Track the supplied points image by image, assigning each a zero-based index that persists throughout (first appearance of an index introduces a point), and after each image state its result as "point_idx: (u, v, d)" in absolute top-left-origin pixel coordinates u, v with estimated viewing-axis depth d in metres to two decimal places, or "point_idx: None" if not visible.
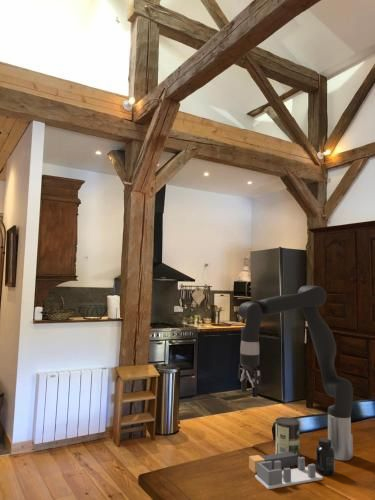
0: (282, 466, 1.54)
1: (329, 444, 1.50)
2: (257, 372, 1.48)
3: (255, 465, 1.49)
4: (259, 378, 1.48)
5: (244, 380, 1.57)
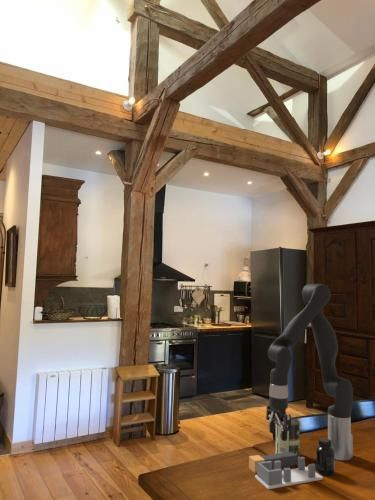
0: (282, 466, 1.54)
1: (329, 444, 1.50)
2: (287, 416, 1.51)
3: (255, 465, 1.49)
4: (289, 422, 1.51)
5: (272, 421, 1.61)
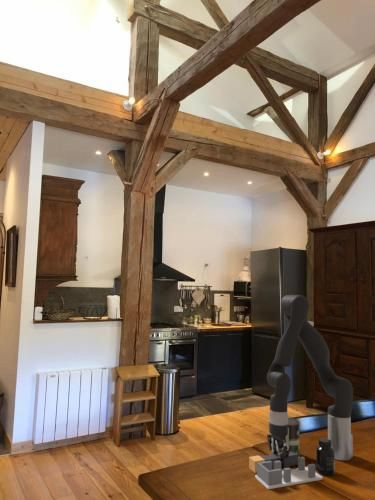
0: None
1: (329, 444, 1.50)
2: (287, 448, 1.50)
3: (255, 466, 1.49)
4: (287, 452, 1.51)
5: (275, 452, 1.57)
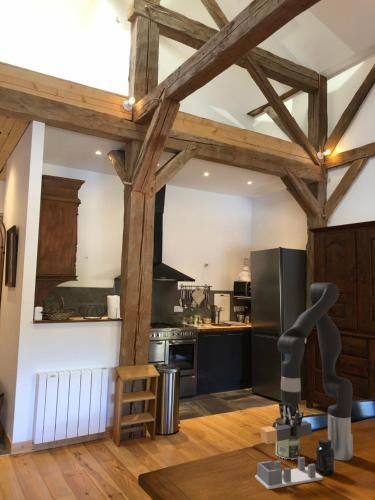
0: (296, 436, 1.48)
1: (329, 444, 1.50)
2: (299, 415, 1.43)
3: (267, 436, 1.43)
4: (300, 420, 1.44)
5: (287, 421, 1.51)
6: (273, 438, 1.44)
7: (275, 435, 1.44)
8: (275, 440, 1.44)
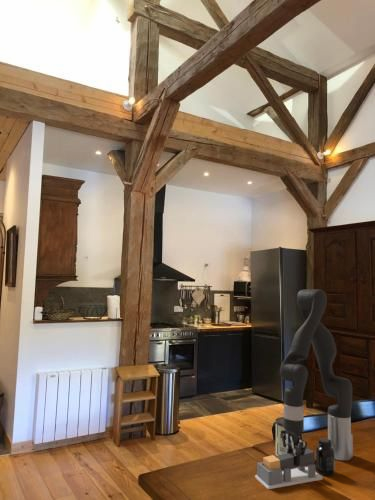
0: (299, 465, 1.45)
1: (329, 444, 1.50)
2: (303, 444, 1.41)
3: (270, 467, 1.40)
4: (303, 449, 1.42)
5: (290, 449, 1.49)
6: None
7: (278, 465, 1.42)
8: None
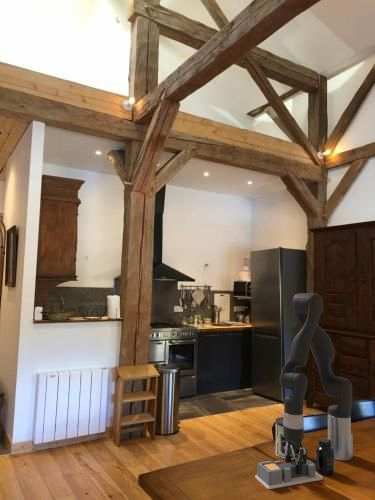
0: (299, 475, 1.45)
1: (329, 444, 1.50)
2: (303, 451, 1.41)
3: None
4: (304, 457, 1.41)
5: (288, 455, 1.50)
6: None
7: None
8: None
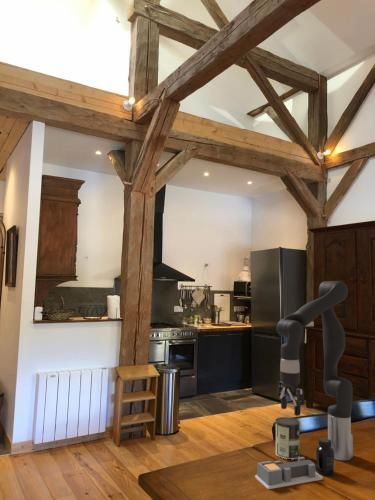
0: (299, 475, 1.45)
1: (329, 444, 1.50)
2: (300, 391, 1.48)
3: None
4: (302, 397, 1.48)
5: (284, 397, 1.58)
6: None
7: None
8: None
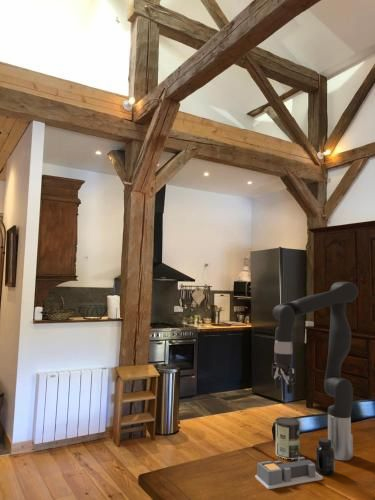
0: (299, 475, 1.45)
1: (329, 444, 1.50)
2: (292, 370, 1.58)
3: None
4: (294, 376, 1.58)
5: (277, 378, 1.68)
6: None
7: None
8: None
